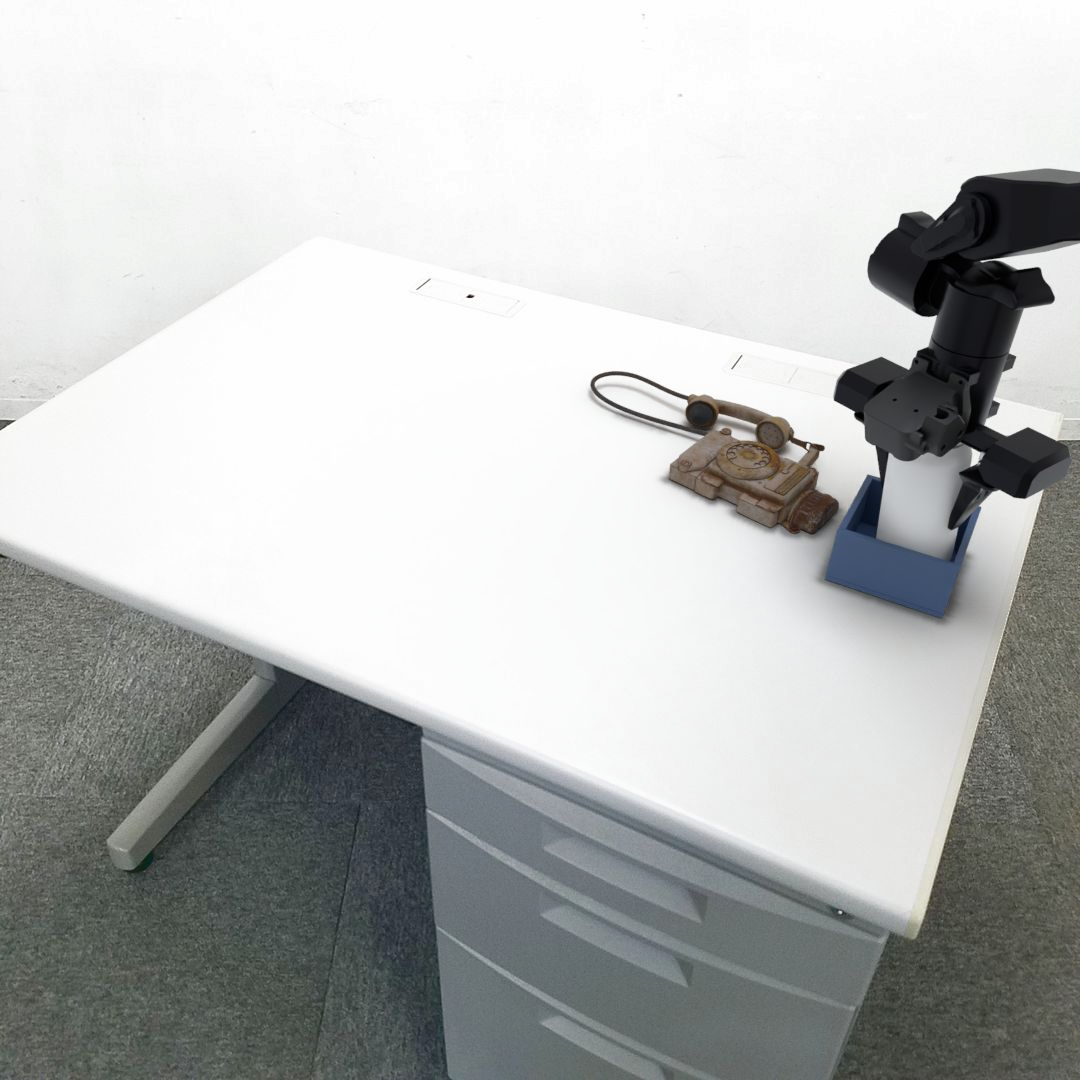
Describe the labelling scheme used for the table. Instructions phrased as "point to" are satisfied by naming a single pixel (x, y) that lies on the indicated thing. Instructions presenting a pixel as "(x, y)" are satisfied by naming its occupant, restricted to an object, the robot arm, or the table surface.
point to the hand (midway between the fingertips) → (918, 508)
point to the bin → (892, 558)
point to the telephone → (745, 463)
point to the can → (922, 501)
